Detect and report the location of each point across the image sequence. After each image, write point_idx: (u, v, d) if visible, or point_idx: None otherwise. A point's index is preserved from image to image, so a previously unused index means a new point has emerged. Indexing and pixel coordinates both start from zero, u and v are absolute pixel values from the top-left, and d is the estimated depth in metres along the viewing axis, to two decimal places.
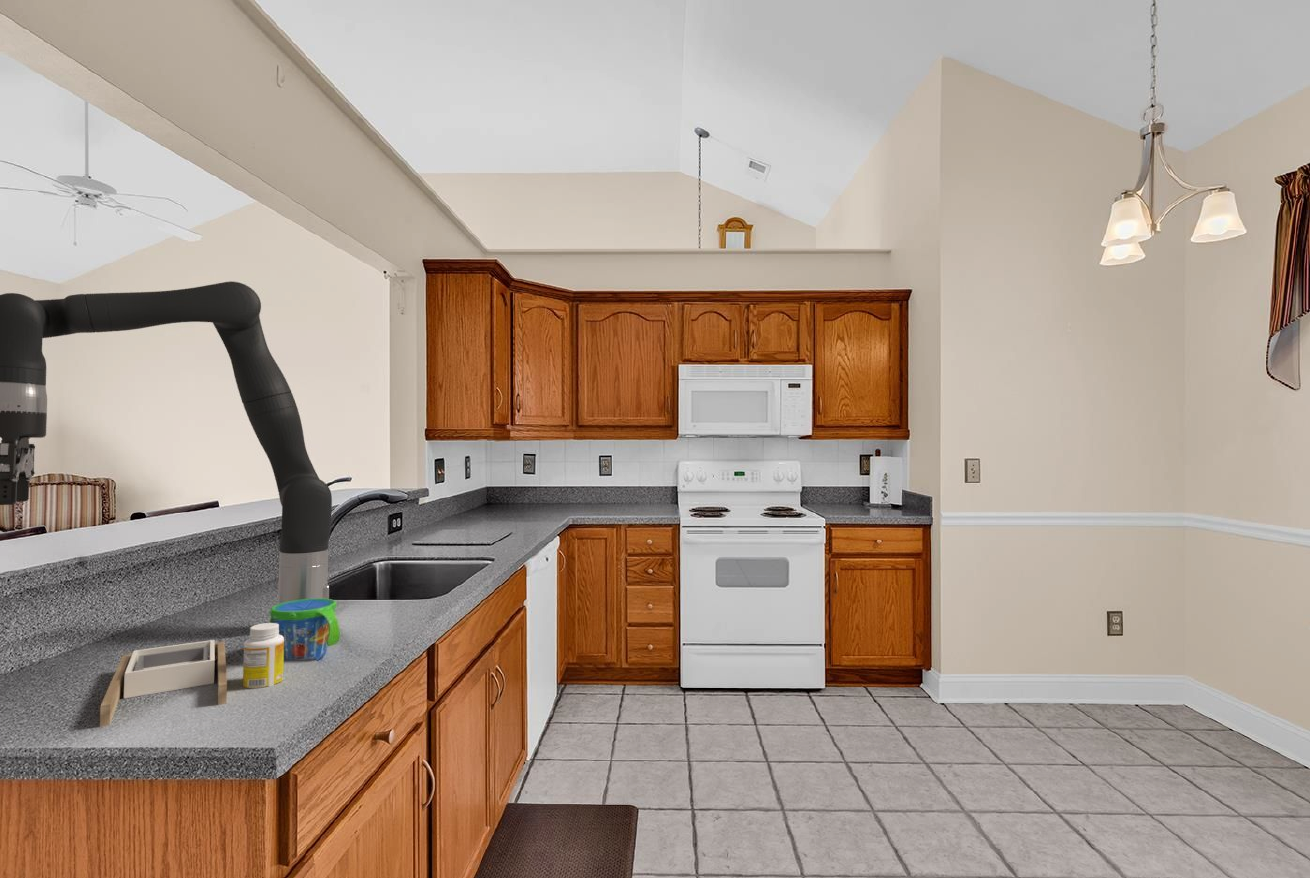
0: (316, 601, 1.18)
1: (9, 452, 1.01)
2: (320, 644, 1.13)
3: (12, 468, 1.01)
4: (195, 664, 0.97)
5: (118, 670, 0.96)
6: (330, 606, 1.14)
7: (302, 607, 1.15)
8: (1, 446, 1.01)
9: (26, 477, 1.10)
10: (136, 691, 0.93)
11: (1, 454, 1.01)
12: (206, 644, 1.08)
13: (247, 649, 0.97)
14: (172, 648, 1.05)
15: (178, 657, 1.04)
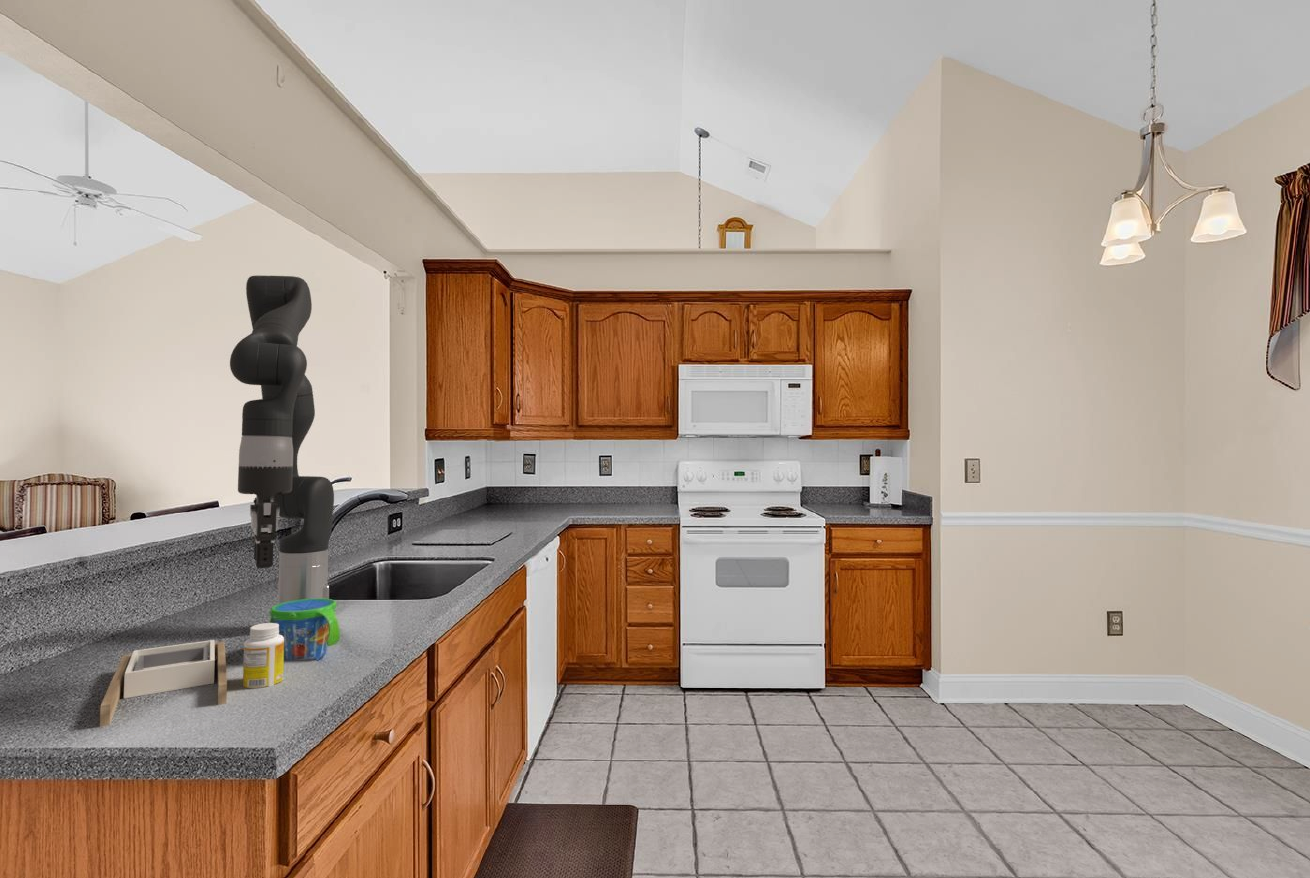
0: (316, 601, 1.18)
1: (272, 512, 0.95)
2: (320, 644, 1.13)
3: (274, 529, 0.95)
4: (195, 664, 0.97)
5: (118, 670, 0.96)
6: (330, 606, 1.14)
7: (302, 607, 1.15)
8: (264, 506, 0.94)
9: None
10: (136, 691, 0.93)
11: (264, 514, 0.94)
12: (206, 644, 1.08)
13: (247, 649, 0.97)
14: (172, 648, 1.05)
15: (178, 657, 1.04)
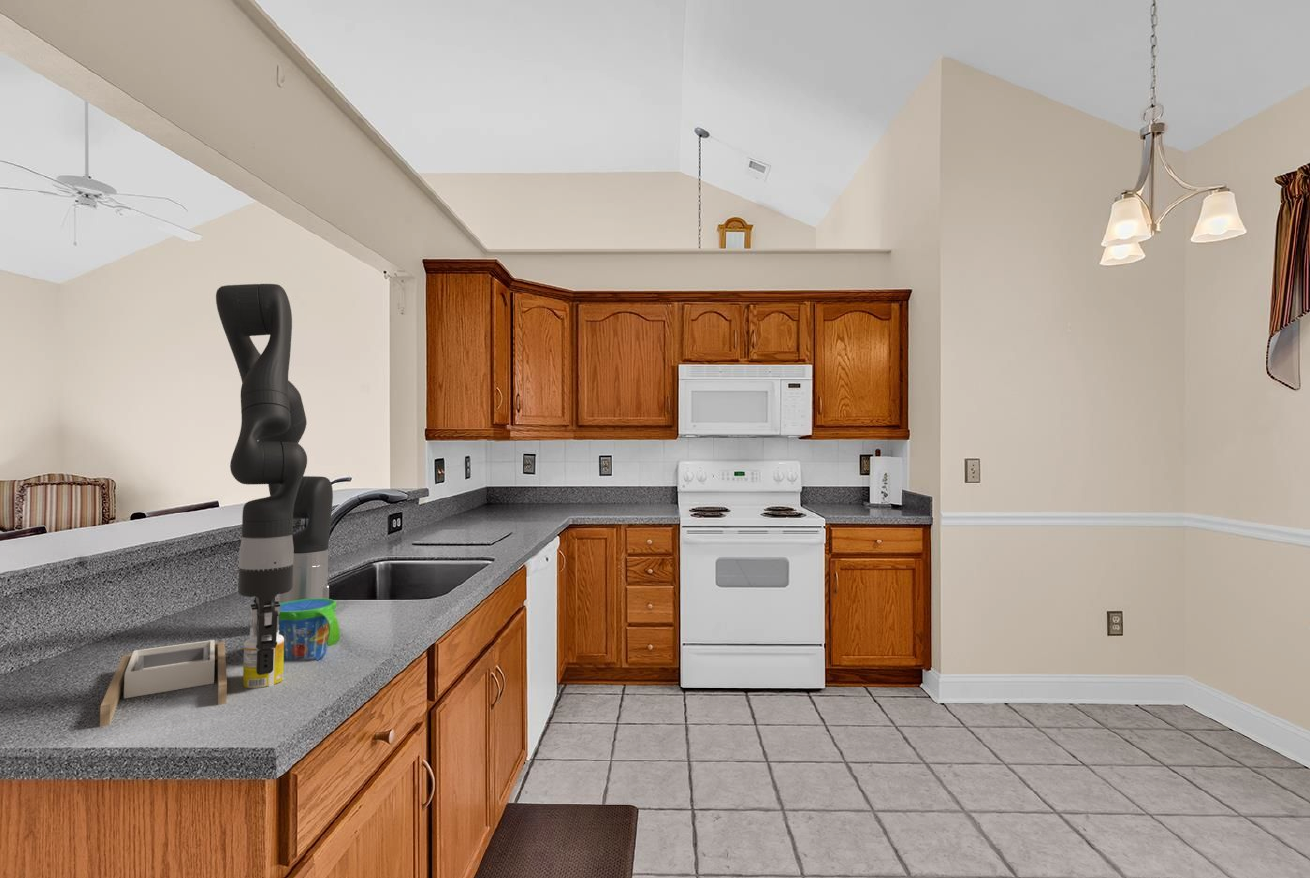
0: (316, 601, 1.18)
1: (272, 622, 0.95)
2: (320, 644, 1.13)
3: (275, 638, 0.95)
4: (195, 664, 0.97)
5: (118, 670, 0.96)
6: (330, 606, 1.14)
7: (302, 607, 1.15)
8: (265, 617, 0.94)
9: None
10: (136, 691, 0.93)
11: (265, 625, 0.94)
12: (206, 644, 1.08)
13: (247, 649, 0.97)
14: (172, 648, 1.05)
15: (178, 657, 1.04)
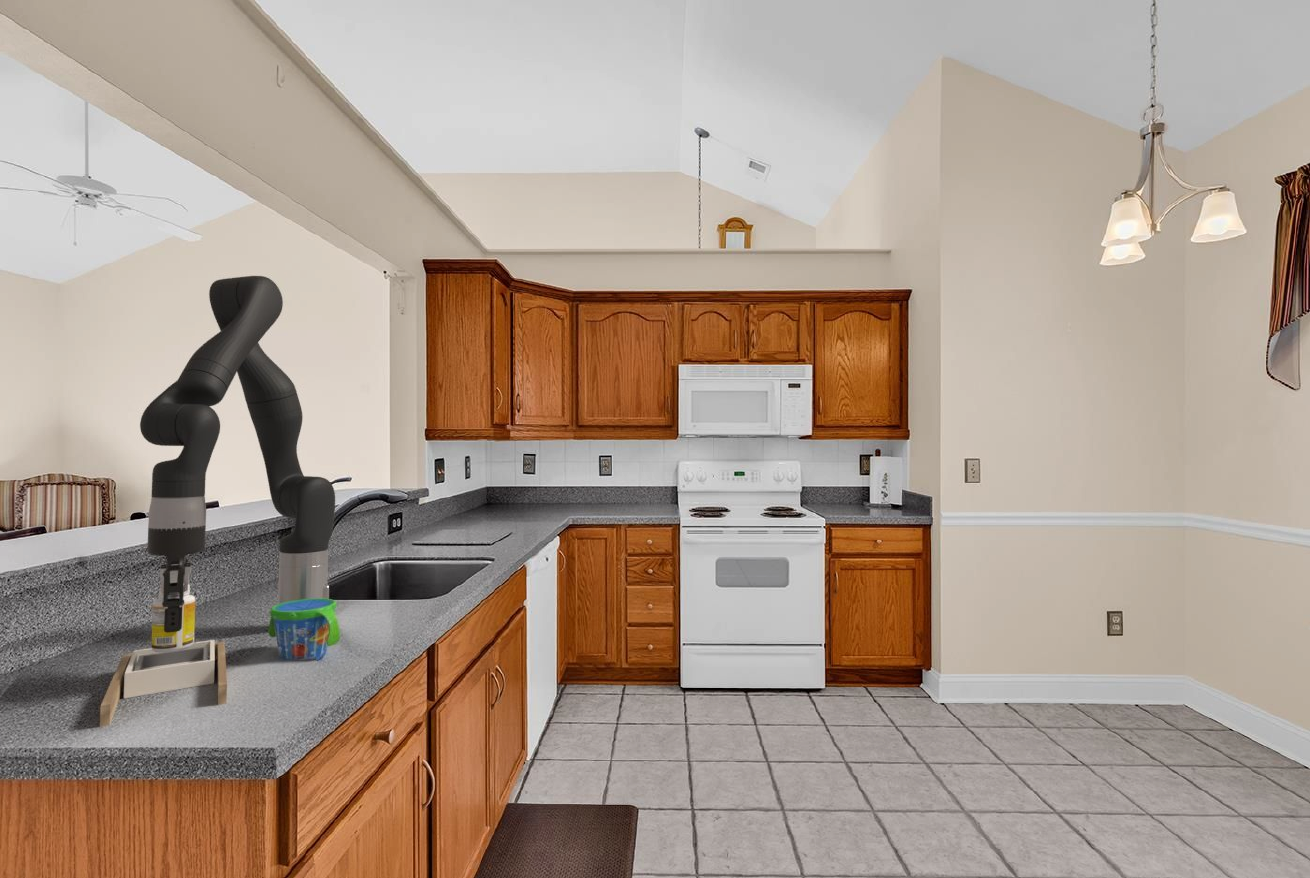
0: (316, 601, 1.18)
1: (178, 580, 0.96)
2: (320, 644, 1.13)
3: (181, 596, 0.96)
4: (195, 664, 0.97)
5: (118, 670, 0.96)
6: (330, 606, 1.14)
7: (302, 607, 1.15)
8: (171, 575, 0.95)
9: None
10: (136, 691, 0.93)
11: (171, 583, 0.95)
12: (206, 644, 1.08)
13: (155, 607, 0.98)
14: None
15: (178, 657, 1.04)
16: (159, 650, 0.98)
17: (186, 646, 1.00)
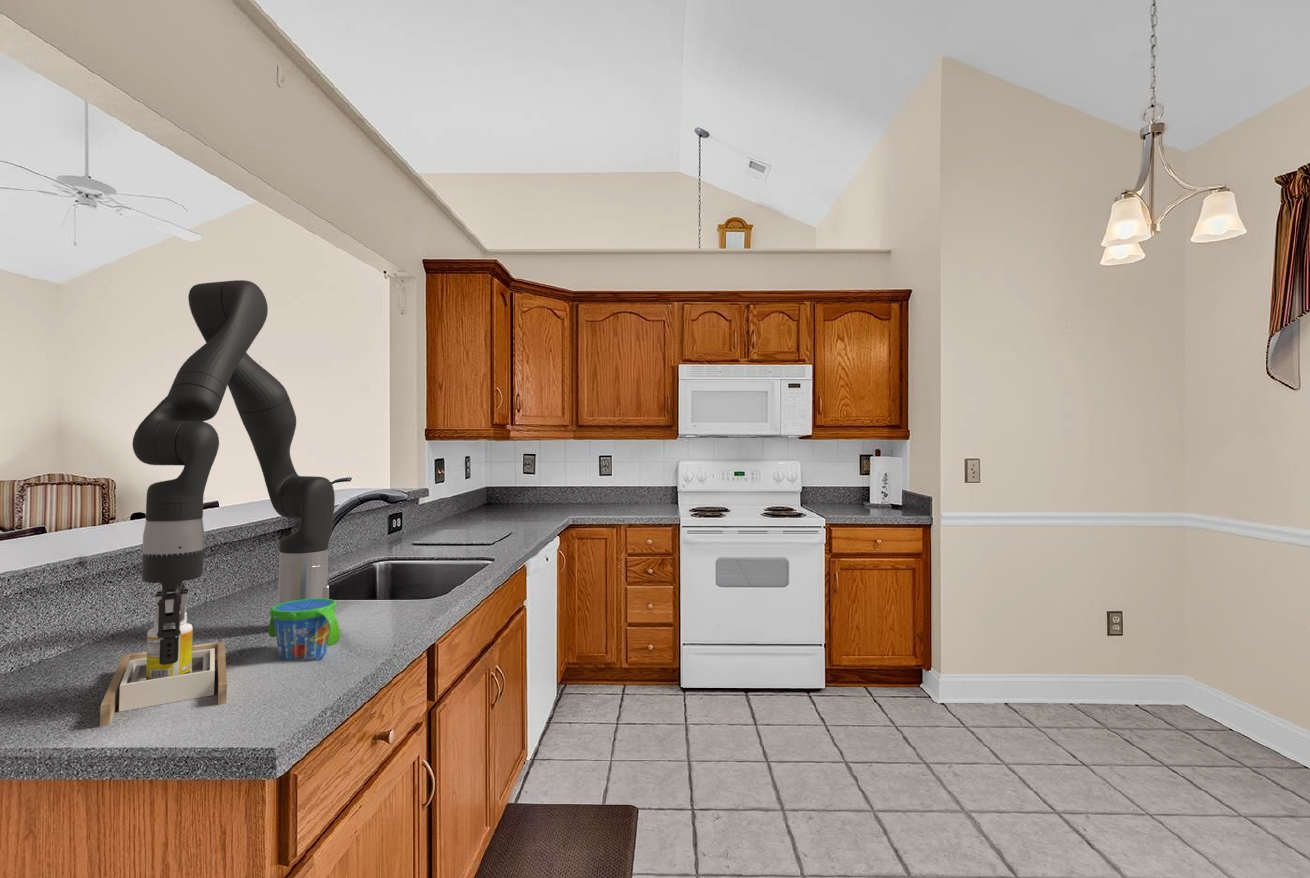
0: (316, 601, 1.18)
1: (174, 610, 0.90)
2: (320, 644, 1.13)
3: (178, 626, 0.90)
4: (194, 675, 0.92)
5: (118, 670, 0.96)
6: (330, 606, 1.14)
7: (302, 607, 1.15)
8: (166, 604, 0.89)
9: None
10: (132, 704, 0.88)
11: (166, 613, 0.90)
12: (206, 653, 1.03)
13: (150, 638, 0.92)
14: None
15: None
16: None
17: None
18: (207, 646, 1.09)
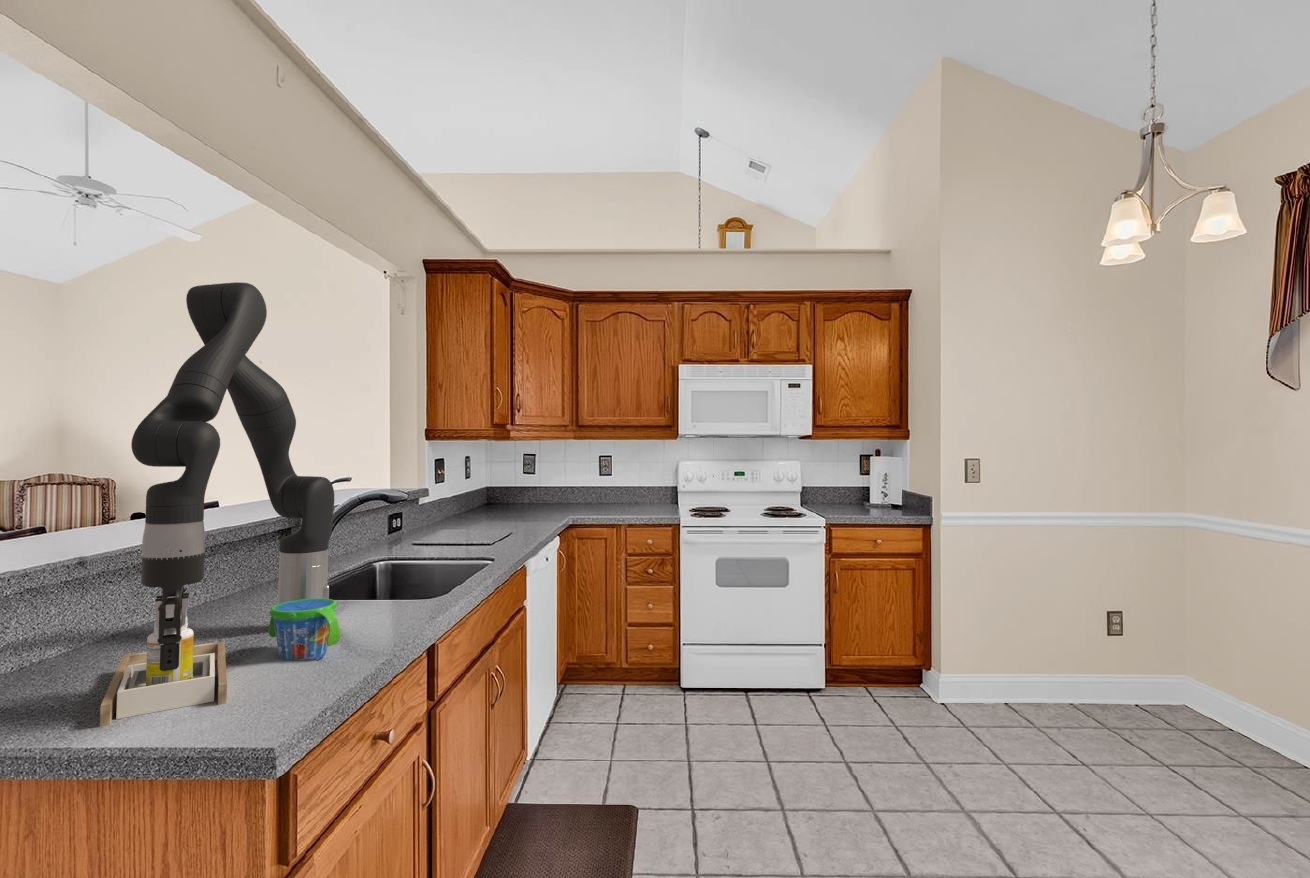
0: (316, 601, 1.18)
1: (175, 615, 0.88)
2: (320, 644, 1.13)
3: (178, 632, 0.88)
4: (194, 681, 0.90)
5: (118, 670, 0.96)
6: (330, 606, 1.14)
7: (302, 607, 1.15)
8: (167, 609, 0.87)
9: None
10: (130, 711, 0.86)
11: (167, 618, 0.87)
12: (205, 658, 1.01)
13: (149, 644, 0.90)
14: None
15: None
16: None
17: None
18: (207, 646, 1.09)
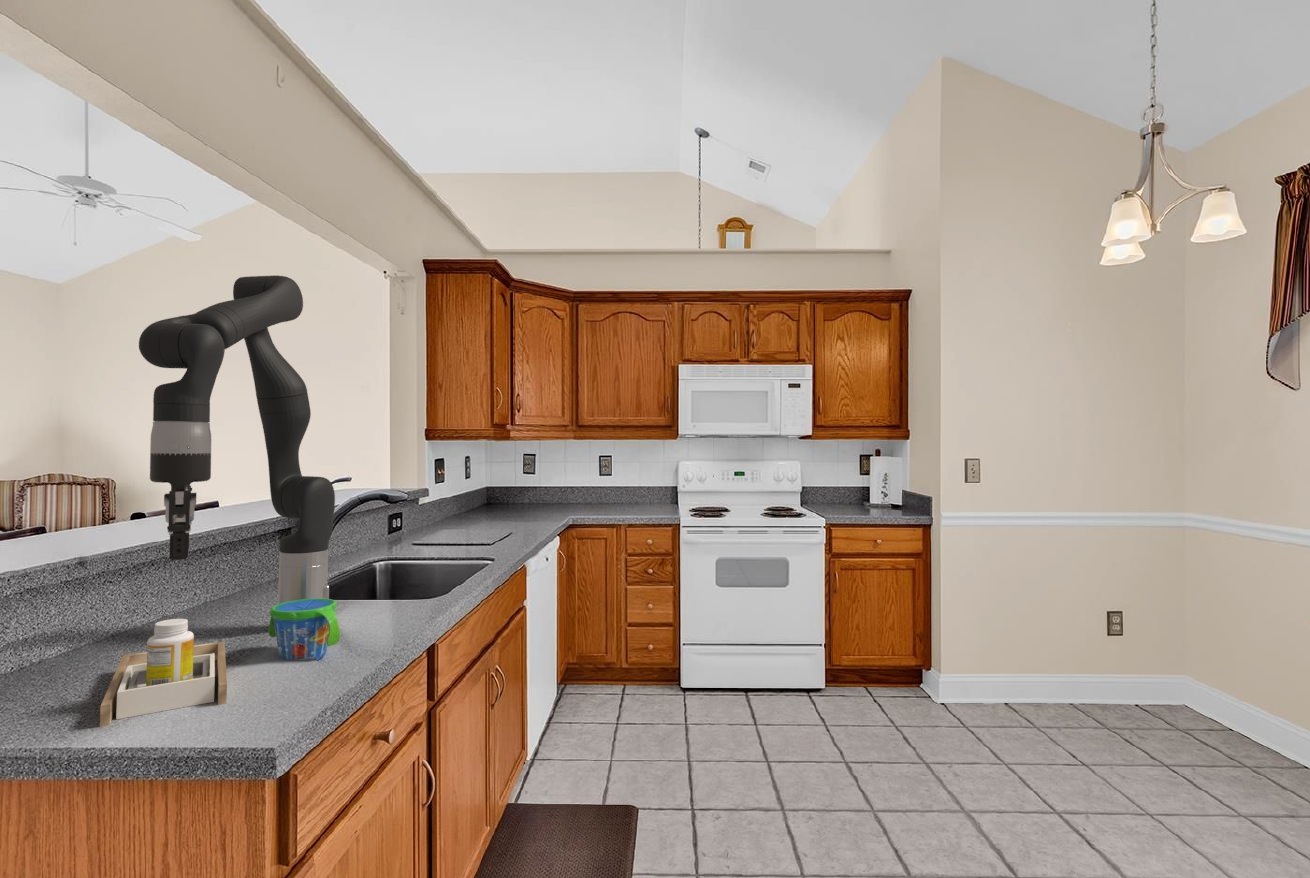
0: (316, 601, 1.18)
1: (184, 501, 0.90)
2: (320, 644, 1.13)
3: (188, 519, 0.90)
4: (194, 681, 0.90)
5: (118, 670, 0.96)
6: (330, 606, 1.14)
7: (302, 607, 1.15)
8: (176, 495, 0.90)
9: None
10: (130, 711, 0.86)
11: (176, 504, 0.90)
12: (205, 658, 1.01)
13: (150, 647, 0.90)
14: None
15: None
16: None
17: None
18: (207, 646, 1.09)
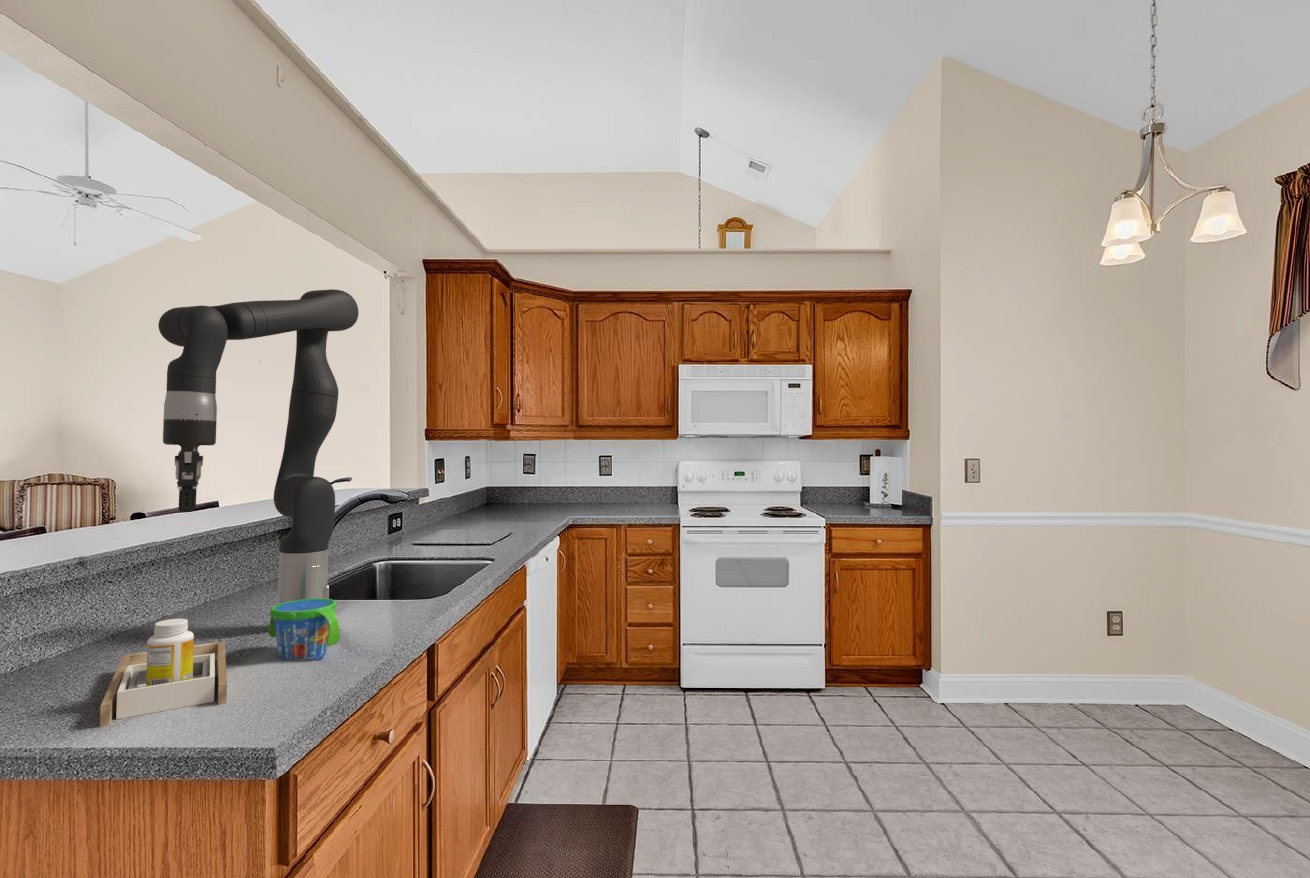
0: (316, 601, 1.18)
1: (192, 460, 1.03)
2: (320, 644, 1.13)
3: (195, 476, 1.03)
4: (194, 681, 0.90)
5: (118, 670, 0.96)
6: (330, 606, 1.14)
7: (302, 607, 1.15)
8: (185, 454, 1.03)
9: None
10: (130, 711, 0.86)
11: (185, 462, 1.03)
12: (205, 658, 1.01)
13: (150, 646, 0.90)
14: None
15: None
16: None
17: None
18: (207, 646, 1.09)
